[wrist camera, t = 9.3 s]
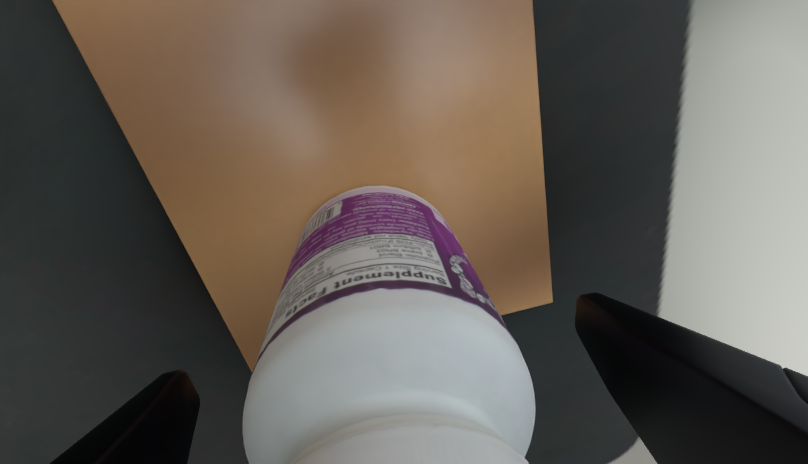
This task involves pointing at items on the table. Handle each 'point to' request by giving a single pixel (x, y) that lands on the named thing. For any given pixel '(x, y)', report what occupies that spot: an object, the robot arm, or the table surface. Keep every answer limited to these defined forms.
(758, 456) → the robot arm
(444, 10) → the wooden board
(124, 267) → the table surface
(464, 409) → the pill bottle
